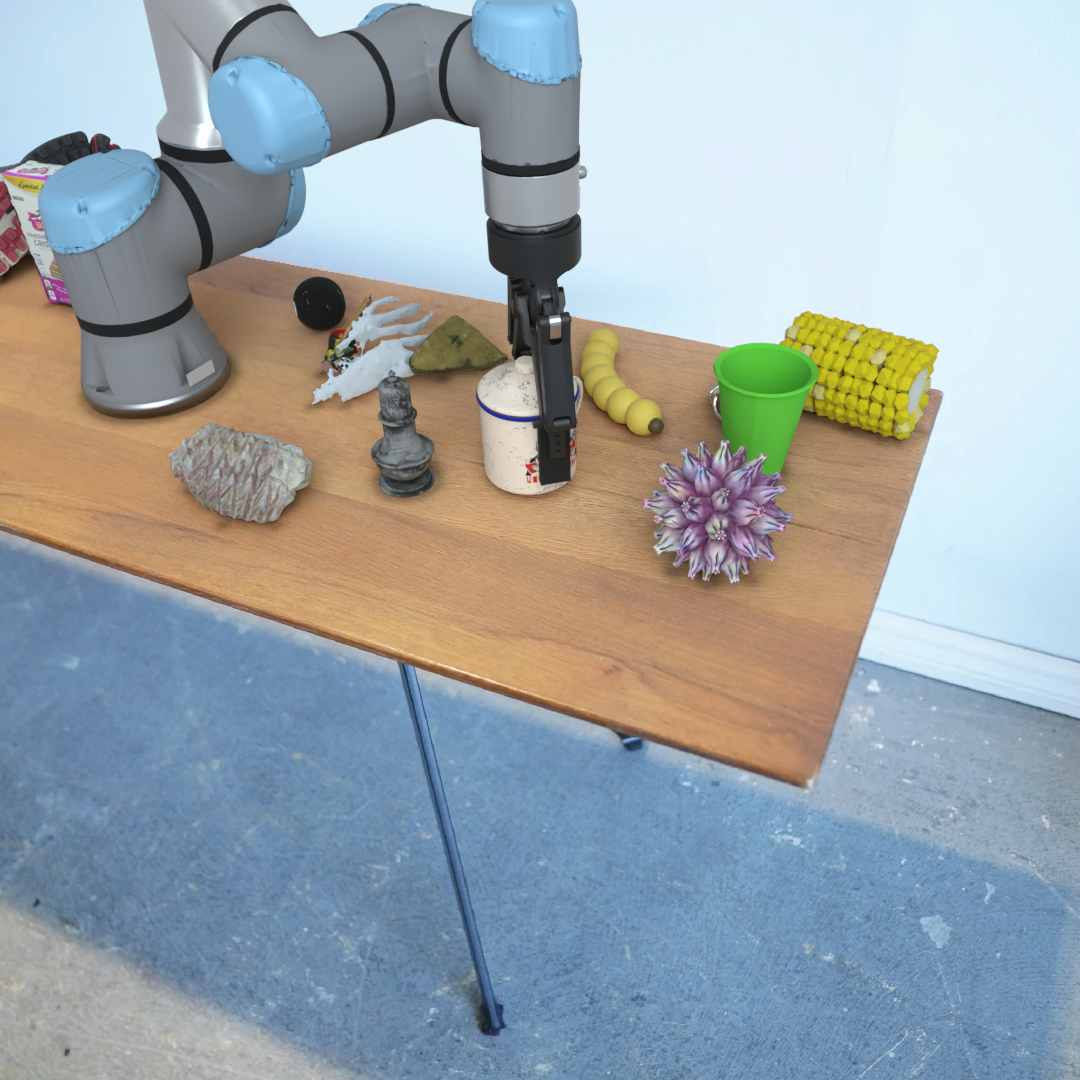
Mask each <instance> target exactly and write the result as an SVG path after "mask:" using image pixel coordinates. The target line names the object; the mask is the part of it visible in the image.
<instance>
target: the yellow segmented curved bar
mask: <svg viewBox="0 0 1080 1080" xmlns="http://www.w3.org/2000/svg"><path fill="white" fill-rule="evenodd" d="M619 340H620V339H619V337H618V335H617V333H616V332H614V331H613V330H612V329H610V328H607V327H599V328H595V329H594V330H593V331H591V332H590V334H589V335H588V337H587V338H586V345H585V346H584V347H583V350H582V351H581V355H580V356H581V363H580V375H581V378H582V380H583V386H584V389H585V391H586V392H587V394H588V395H589V396H590V397H592V400H593V401H594V404H595V406H597V408H599V409H600V410H602V411H604V412H607V414H608V416H609V417H610V419H611V420H613V421H614V422H616V423H618V424H623V425H625V424H626V426H627V428H628V429H629V431H630V432H632V433H633V434H635V435H637V436H649V435H652V434H653V435H659V434H661V433H663V431H664V428H665V423H664V421H663V419H662V418H663V417H662V414H663V413H662V411H661V408H660V406H659V405H658V404H657V403H656V402H655V401H653V400H652V399H648V398H641V395H640V394H639V393H638V391H636V390H635V389H633V388H629V387H628V386H627V384H626V383H625V382H624V380H623V379H621V378H620V377H619V374H618V372H617V371H616V370H615V369H616V368H615V364H614V363H615V361H616V355H617V353H618V352H619V348H620V341H619Z"/></svg>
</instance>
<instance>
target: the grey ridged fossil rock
mask: <svg viewBox="0 0 1080 1080" xmlns="http://www.w3.org/2000/svg"><path fill="white" fill-rule="evenodd" d="M167 459H169V461H170V463H169V467H170V470H171V472H172V473H173V478H179V480H180V482H181V483H183V484H184V485H185V486H186V488H187V490H188V491H189V493H190V495H192V496H193V498H194V499H195V500H196V501H197V502H200V504H201V505H202V506H203V507H208V509H209V510H210V511H216V512H218V513H219V515H220V516H221V515H222V516H228V517H231V518H232V519H233V520H237V519H239V520H240V519H241V520H243V521H245V522H251V521H254V522H256V523H258V524H265V523H266V522H275V521H276V520H278V519H279V518H280V517H281V515H282V512H283V510H284V509H285V508H286V507H287V506H288V505H290V503H292V502H293V501H294V500H295V496H296V492H297V491H300V490H302V489H304V488H306V487H307V486H309V485H310V481H311V480H310V479H311V476H312V475H313V471H312V470H313V468H314V466H313V461H312V459H308V457H306V456H305V455H304V450H303V449H302V448H301V446H299V445H293V444H290V443H287V444H286V445H285V442H282V441H281V440H279V439H278V438H276V437H274V436H271V435H267V434H259V433H251V432H244V431H242V430H236V429H235V428H234V426H231V427H228V428H226V427H225V426H224V425H220V424H217V423H212V422H208V423H207V425H205V426H202V425H201V426H199V428H198V429H197V431H196V432H195V433H194V434H193V435H191V436H190V437H189V438H183V439H182V441H181V442H180V445H179V447H178V448H177V449H175V450H174V451H171V452H168V454H167Z"/></svg>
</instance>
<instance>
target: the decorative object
mask: <svg viewBox="0 0 1080 1080" xmlns="http://www.w3.org/2000/svg"><path fill="white" fill-rule="evenodd" d="M395 302H399V303H402V302H401V299H400V298H399V297H396V296H393V295H387V296H384V297H381V298H378V299H376V300H375V301H372V302H371V303H370V305H369V306H368V307H366V308H365V310H363V315H362V317H358V321H353V323H352V330H351V331H350V332H349V336H348V338H346V339H345V340H343V341H342V342H341V343H340V344H339V345H338V346H336V347H335V348H339V350H340V351H341V350H343V349H345V348H347V347H348V345H349V344H350V343H351V341H352V340H354V339H355V340H356V342H357V344H355V346H357V350H358V349H359V348H361V353H360V355H359V356H358V357H356V360H355V361H354V362H351V360H350V359H348V360H349V361H350V362H346V361H345V360H344V362H343V361H341V362H339V363H337V364H338V365H340V366H341V364H343V366H344V367H342V368H341V371H340V374H338V375H337V376H334V375H333V374H334V372H333V369H332V368H330V369H329V373H328V372H326V375H327V377H328V379H327V381H326V382H324V383H322V384H321V385H320V388H318V387H316V389H315V390H313V391H312V393H313V399H314V400H313V401H312V403H311V405H314V404H317V403H318V402H321V401H323V402H324V401H327V400H328V399H332V398H333V396H335V394H338V396H339V397H340V399H341V402H343V403H345V402H346V401H349V400H352V399H354V398H357V397H359V396H361V395H364V394H366V393H369V392H371V391H372V390H374V389H376V388H378V385H379V383H380V382H381V381H382V380H383V379H384V378H386V377H389V376H388V373H389V371H390V370H392V371H394V372H395V375H394V376H399V377H402V378H404V379H405V378H410V377H412V376H415V374H413V372H412V371H411V368H410V365H409V359H410V357H411V356H412V355H413V354H414V352H415V351H414V350H410V349H406V348H405V347H410V348H412V347H417V346H420V345H421V344H422V343H423V342H424V341H425V339H426V338H427V337H428V336H429V335H430V334H431V333H429V334H418V332H419V331H422V330H423V329H424V328H425V327H426V326H427V324H428V322H429V321H430V320H432V316H433V315H434V314H435V313H436V312H437V311H436V310H433V311H431V310H430V311H429V313H428V314H425V316H424V317H423V318H422V319H420V320H417V321H415V322H410V323H405V324H401V323H396V324H393V325H389V326H383V325H386V324H389V323H392V322H394V321H398V320H402V319H404V318H407V317H409V318H412V317H413V316H414V315H416V314H417V313H418V310H420V307H422V305H421V304H419V303H417V302H415V303H413V302H410V303H408V304H406V305H403V306H401V307H399V306H398V307H397V309H393V310H391V311H387V312H384V313H378V314H373V313H374V311H375V310H376V308H378V307H379V306H384V305H385V304H391V303H395ZM398 334H401V335H406V336H403V337H400V338H392V339H389V340H386V339H383V340H382V339H381V340H380V341H379V345H377V346H374V347H373V348H370V349H369V350H367V351H366V352H365V353H364V354H363V351H364V349H365V347H366V345H367V342H368V341H369V340H370V341H371V342H373V341H375V340H377V339H379V338H382V337H389V336H396V335H398ZM415 334H416V335H415ZM358 343H359V345H358ZM342 359H345V357H343V358H342ZM346 364H347V365H348V368H347V367H346V366H345V365H346ZM346 368H347V369H346ZM334 371H336V372H339V370H338V371H337V370H334Z"/></svg>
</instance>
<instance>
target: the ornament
mask: <svg viewBox="0 0 1080 1080" xmlns="http://www.w3.org/2000/svg"><path fill="white" fill-rule="evenodd" d="M706 396H707V400H708V402H709V404H710V406H711V407H712V409H713V414H714V416H715V417H716V418H717V420H719V422H722V421H721V409H720V397H719V385H718V379H717V380H716V381H715V382H714V383H712V384H711V385H710V386H709V388H708V389H707V391H706Z"/></svg>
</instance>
